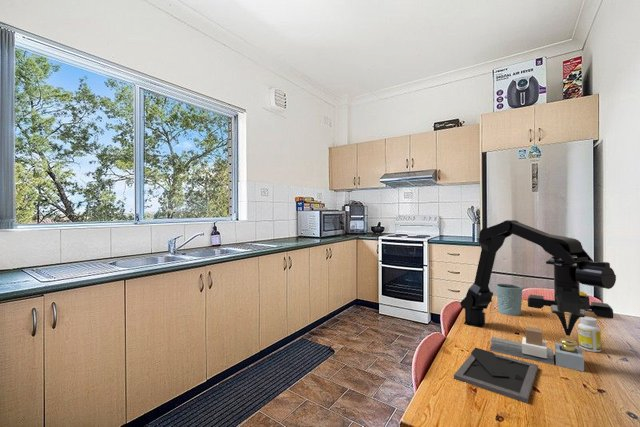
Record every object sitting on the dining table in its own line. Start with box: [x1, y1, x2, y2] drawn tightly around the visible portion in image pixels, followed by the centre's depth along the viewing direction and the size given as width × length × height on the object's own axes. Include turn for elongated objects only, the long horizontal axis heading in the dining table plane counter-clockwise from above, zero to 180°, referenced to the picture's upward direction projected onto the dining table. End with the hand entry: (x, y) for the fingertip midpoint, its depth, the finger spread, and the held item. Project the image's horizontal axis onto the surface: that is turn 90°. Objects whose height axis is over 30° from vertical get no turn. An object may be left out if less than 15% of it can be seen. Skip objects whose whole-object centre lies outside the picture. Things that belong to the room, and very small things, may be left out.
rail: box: [489, 336, 555, 366], centre depth 93 cm, size 16×8×3 cm, turn 53°
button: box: [559, 337, 577, 353], centre depth 86 cm, size 4×4×4 cm
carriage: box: [521, 326, 548, 358], centre depth 91 cm, size 6×6×7 cm
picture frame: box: [453, 347, 539, 404], centre depth 80 cm, size 16×2×21 cm
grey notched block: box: [554, 342, 585, 372], centre depth 86 cm, size 6×8×4 cm
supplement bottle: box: [577, 316, 602, 353], centre depth 95 cm, size 5×5×10 cm
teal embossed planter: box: [495, 283, 524, 317], centre depth 133 cm, size 10×10×12 cm
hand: (567, 335), depth 86 cm, fingers closed
